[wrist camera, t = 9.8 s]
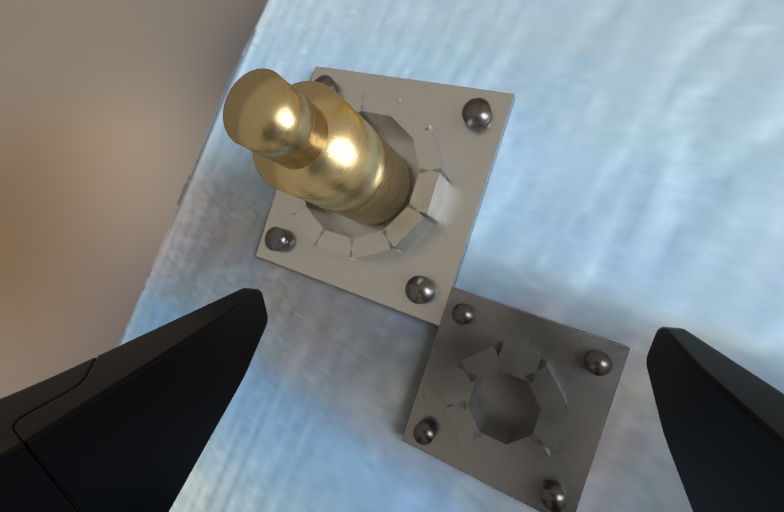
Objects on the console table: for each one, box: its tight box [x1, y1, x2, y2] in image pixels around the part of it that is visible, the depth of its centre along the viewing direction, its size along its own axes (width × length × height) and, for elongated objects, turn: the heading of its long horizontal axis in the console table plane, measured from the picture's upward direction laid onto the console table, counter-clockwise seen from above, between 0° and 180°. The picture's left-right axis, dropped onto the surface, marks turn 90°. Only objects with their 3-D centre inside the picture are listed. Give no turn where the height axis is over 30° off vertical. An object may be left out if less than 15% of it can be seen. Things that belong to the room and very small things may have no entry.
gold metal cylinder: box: [223, 69, 410, 224], centre depth 17 cm, size 4×4×10 cm
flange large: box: [256, 66, 515, 326], centre depth 21 cm, size 12×12×2 cm
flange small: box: [402, 288, 630, 512], centre depth 18 cm, size 8×8×2 cm
